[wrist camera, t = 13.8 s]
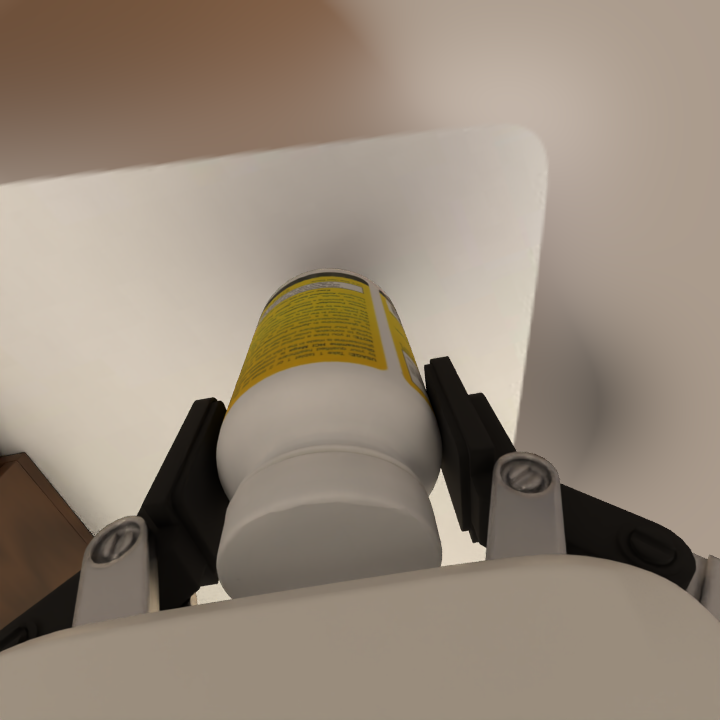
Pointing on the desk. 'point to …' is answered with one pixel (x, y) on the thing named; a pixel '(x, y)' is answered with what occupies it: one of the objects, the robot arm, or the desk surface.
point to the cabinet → (34, 537)
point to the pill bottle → (327, 444)
